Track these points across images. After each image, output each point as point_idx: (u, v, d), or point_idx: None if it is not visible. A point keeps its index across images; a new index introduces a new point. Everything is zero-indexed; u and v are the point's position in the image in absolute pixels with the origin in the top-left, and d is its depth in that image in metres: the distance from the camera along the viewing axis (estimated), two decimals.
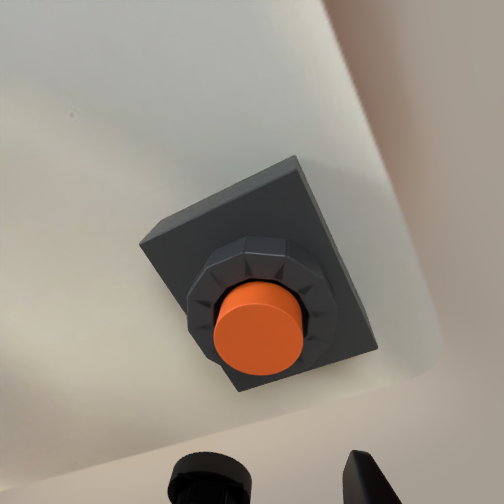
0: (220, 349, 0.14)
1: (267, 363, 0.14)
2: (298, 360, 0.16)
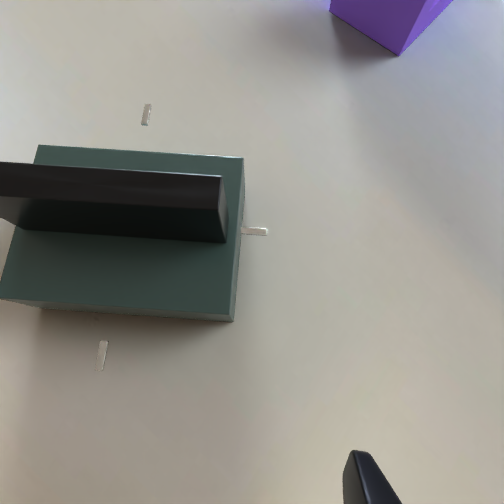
0: None
1: None
2: None
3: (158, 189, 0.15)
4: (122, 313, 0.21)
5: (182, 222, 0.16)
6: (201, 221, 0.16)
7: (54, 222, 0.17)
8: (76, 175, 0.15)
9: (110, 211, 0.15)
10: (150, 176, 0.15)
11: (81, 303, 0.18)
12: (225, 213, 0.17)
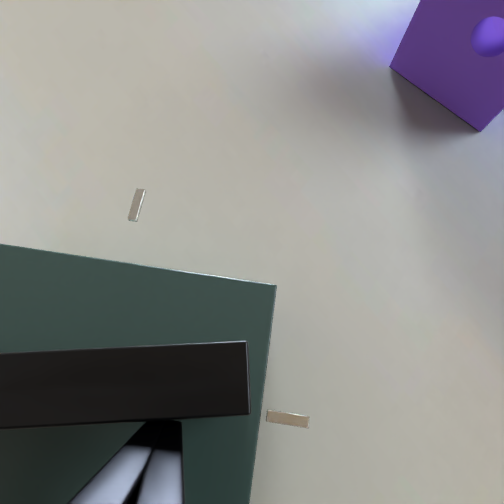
0: None
1: None
2: None
3: (132, 385, 0.08)
4: None
5: None
6: None
7: None
8: None
9: None
10: (114, 358, 0.08)
11: None
12: None
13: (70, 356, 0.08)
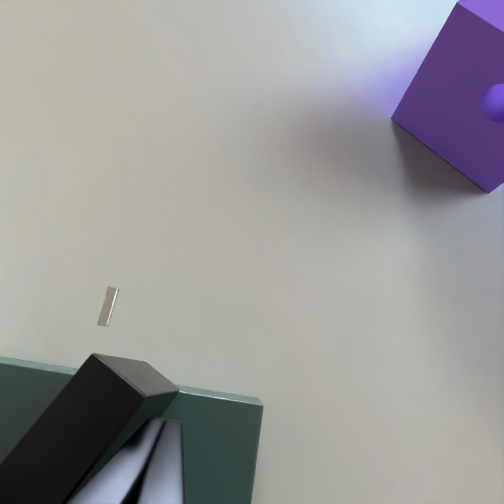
0: None
1: None
2: None
3: (31, 487, 0.07)
4: None
5: None
6: (137, 425, 0.09)
7: None
8: None
9: None
10: None
11: None
12: (144, 371, 0.10)
13: None
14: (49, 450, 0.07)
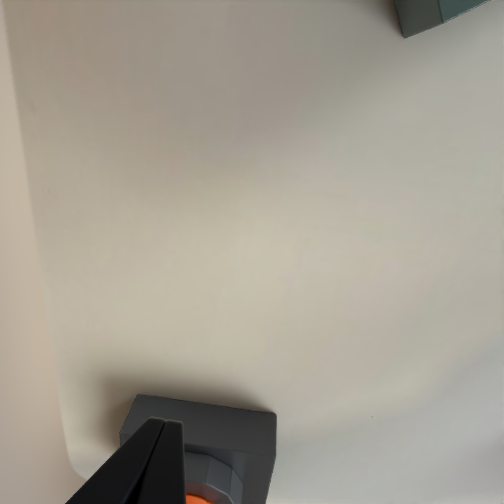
0: None
1: None
2: None
3: None
4: None
5: None
6: None
7: None
8: None
9: None
10: None
11: None
12: None
13: None
14: None
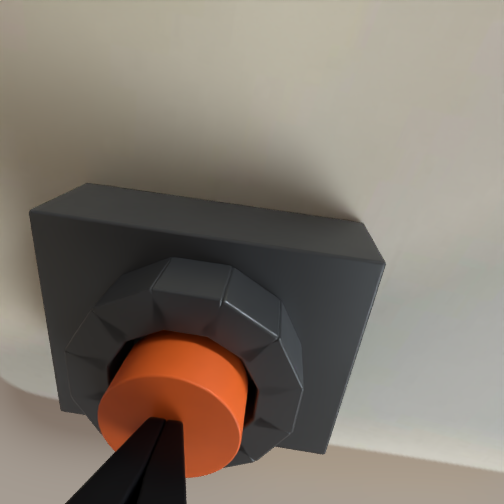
0: (180, 386, 0.08)
1: (122, 420, 0.09)
2: (90, 395, 0.10)
3: None
4: None
5: None
6: None
7: None
8: None
9: None
10: None
11: None
12: None
13: None
14: None
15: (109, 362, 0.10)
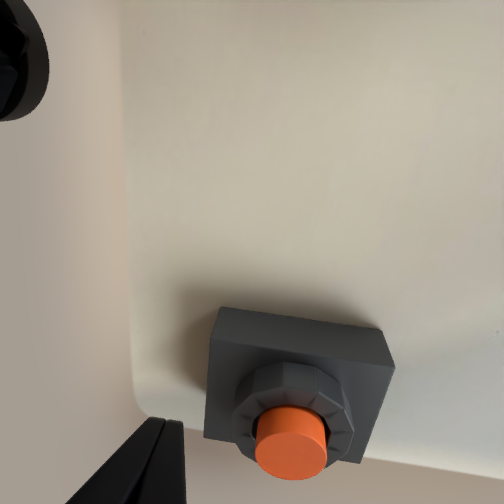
0: (300, 437, 0.17)
1: (268, 452, 0.18)
2: (241, 433, 0.19)
3: None
4: None
5: None
6: None
7: None
8: None
9: None
10: None
11: None
12: None
13: None
14: None
15: (254, 417, 0.19)
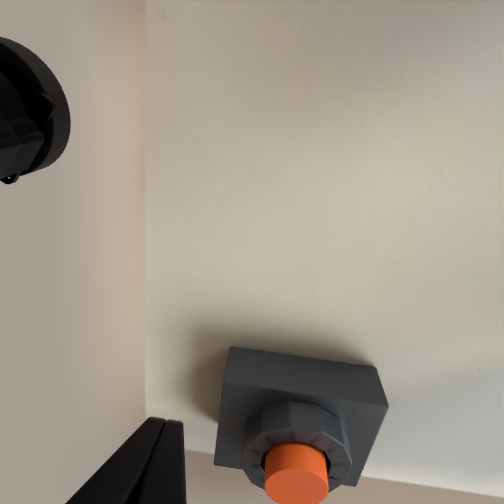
0: (306, 472, 0.19)
1: (276, 484, 0.20)
2: (250, 465, 0.21)
3: None
4: None
5: None
6: None
7: None
8: None
9: None
10: None
11: None
12: None
13: None
14: None
15: (263, 452, 0.21)
